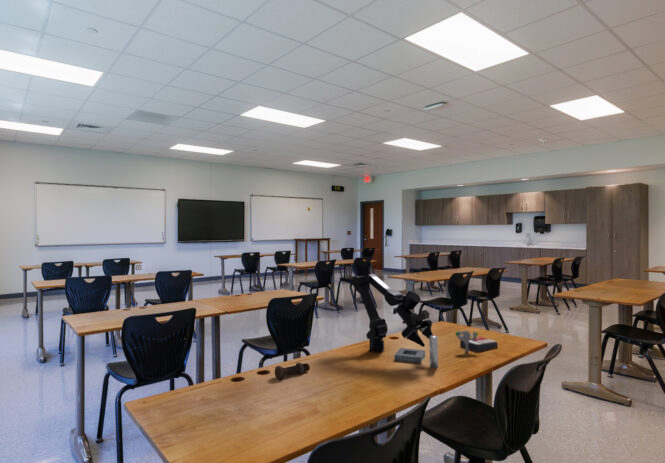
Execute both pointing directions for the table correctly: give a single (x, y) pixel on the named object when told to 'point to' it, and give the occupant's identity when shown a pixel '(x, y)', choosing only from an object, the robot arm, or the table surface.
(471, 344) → the calculator
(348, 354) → the table surface
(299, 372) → the dark brown knobby piece
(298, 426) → the table surface
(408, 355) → the block
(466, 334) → the mechanical component
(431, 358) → the axle
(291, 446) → the table surface
